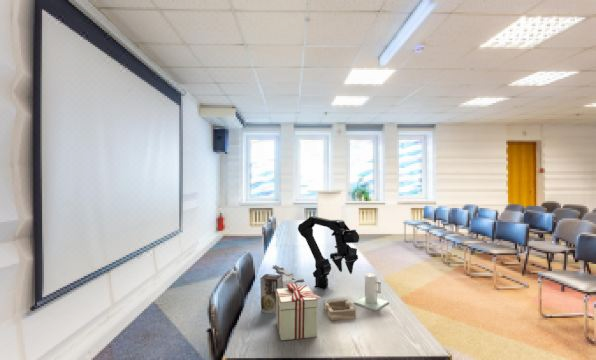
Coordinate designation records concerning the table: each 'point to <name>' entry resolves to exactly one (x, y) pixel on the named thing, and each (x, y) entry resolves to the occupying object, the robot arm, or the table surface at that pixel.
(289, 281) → the white cup
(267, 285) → the coffee box
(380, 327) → the table surface
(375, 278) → the white tall cylinder
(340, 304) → the collar
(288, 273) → the gun
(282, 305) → the gift box
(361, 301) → the pad
